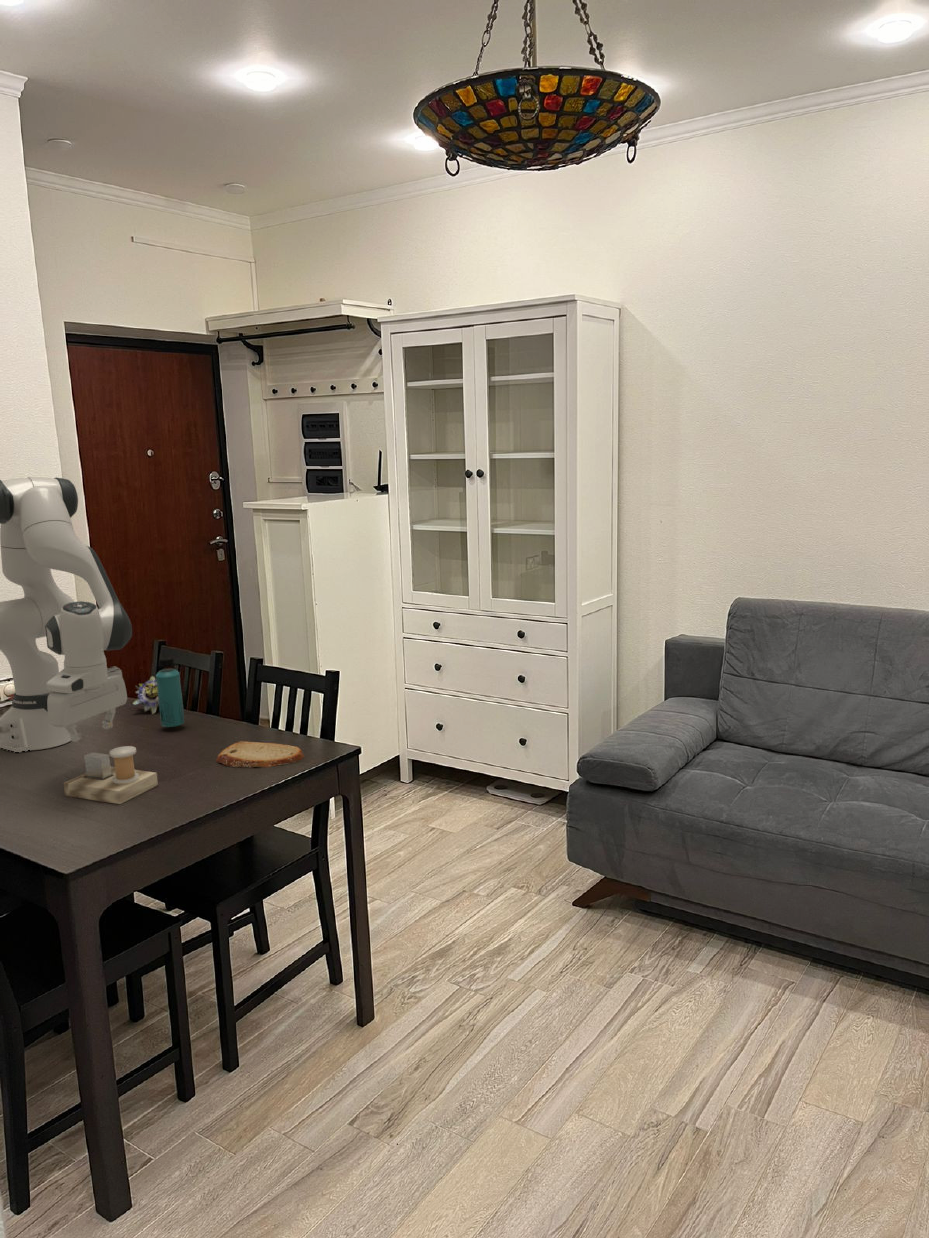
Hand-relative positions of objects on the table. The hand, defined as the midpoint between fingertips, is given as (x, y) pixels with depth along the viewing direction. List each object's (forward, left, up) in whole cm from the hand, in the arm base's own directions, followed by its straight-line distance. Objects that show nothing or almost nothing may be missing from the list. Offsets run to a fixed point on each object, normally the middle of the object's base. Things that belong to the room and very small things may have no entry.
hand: (92, 734), depth 213 cm
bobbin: (+9, 0, -10) cm, 13 cm away
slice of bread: (+24, +29, -14) cm, 40 cm away
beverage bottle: (-14, +42, -13) cm, 46 cm away
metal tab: (+1, 0, -13) cm, 13 cm away
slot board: (+4, 0, -13) cm, 13 cm away
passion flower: (-32, +56, -13) cm, 66 cm away
